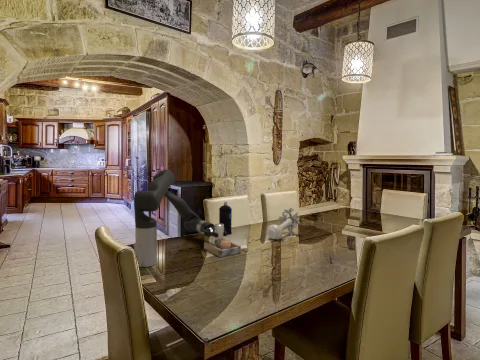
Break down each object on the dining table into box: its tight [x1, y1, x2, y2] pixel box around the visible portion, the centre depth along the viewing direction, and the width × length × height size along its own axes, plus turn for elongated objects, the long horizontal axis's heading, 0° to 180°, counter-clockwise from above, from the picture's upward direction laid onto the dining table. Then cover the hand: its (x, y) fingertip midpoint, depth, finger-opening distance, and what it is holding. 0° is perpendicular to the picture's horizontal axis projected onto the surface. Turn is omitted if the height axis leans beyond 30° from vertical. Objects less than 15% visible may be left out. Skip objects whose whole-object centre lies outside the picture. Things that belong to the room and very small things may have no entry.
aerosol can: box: [218, 201, 233, 236], centre depth 201 cm, size 8×8×20 cm
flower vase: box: [267, 207, 301, 241], centre depth 195 cm, size 13×18×25 cm
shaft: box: [213, 223, 225, 249], centre depth 167 cm, size 5×5×12 cm
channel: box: [203, 238, 242, 258], centre depth 165 cm, size 12×16×4 cm
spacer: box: [220, 239, 231, 250], centre depth 162 cm, size 5×5×6 cm
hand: (221, 235), depth 165 cm, fingers closed on shaft, 4 cm apart
